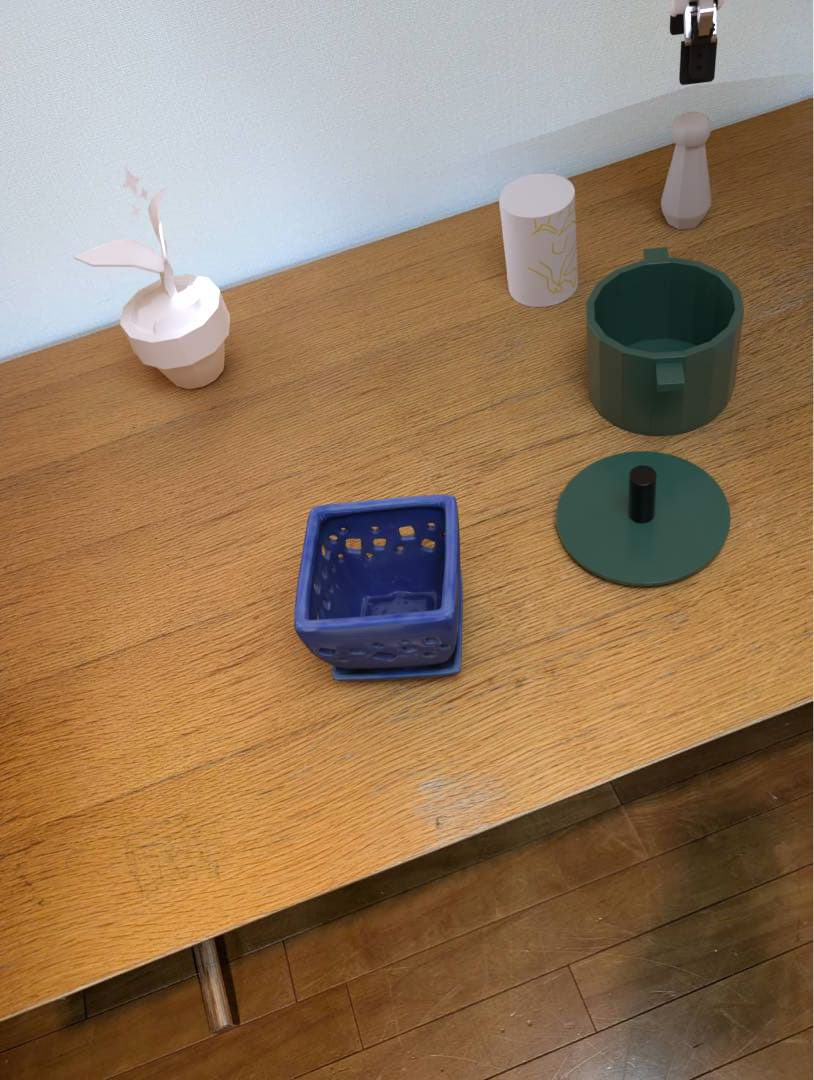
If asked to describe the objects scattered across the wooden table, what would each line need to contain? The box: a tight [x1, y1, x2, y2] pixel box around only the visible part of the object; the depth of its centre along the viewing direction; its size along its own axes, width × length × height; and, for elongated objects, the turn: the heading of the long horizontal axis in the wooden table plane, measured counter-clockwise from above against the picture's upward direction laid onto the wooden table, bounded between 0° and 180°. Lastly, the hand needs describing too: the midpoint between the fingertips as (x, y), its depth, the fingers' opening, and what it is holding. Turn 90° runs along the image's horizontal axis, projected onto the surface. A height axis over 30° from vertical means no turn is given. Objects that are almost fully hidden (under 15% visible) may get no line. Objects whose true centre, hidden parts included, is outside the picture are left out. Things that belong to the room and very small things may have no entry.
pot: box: [585, 246, 745, 437], centre depth 99 cm, size 15×20×10 cm
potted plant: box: [73, 166, 231, 390], centre depth 107 cm, size 13×12×25 cm
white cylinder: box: [498, 172, 579, 308], centre depth 112 cm, size 8×8×12 cm
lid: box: [555, 450, 731, 587], centre depth 91 cm, size 16×16×7 cm
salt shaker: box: [660, 111, 713, 231], centre depth 114 cm, size 6×6×13 cm
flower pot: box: [293, 494, 464, 682], centre depth 85 cm, size 13×13×12 cm
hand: (691, 56), depth 97 cm, fingers open, 9 cm apart
